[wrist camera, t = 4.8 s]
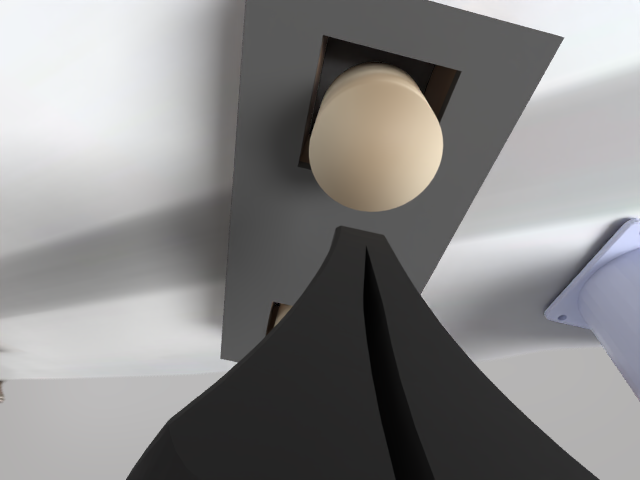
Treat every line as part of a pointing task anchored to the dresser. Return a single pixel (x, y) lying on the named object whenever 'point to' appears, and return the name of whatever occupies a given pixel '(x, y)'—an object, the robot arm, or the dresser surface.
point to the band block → (293, 137)
